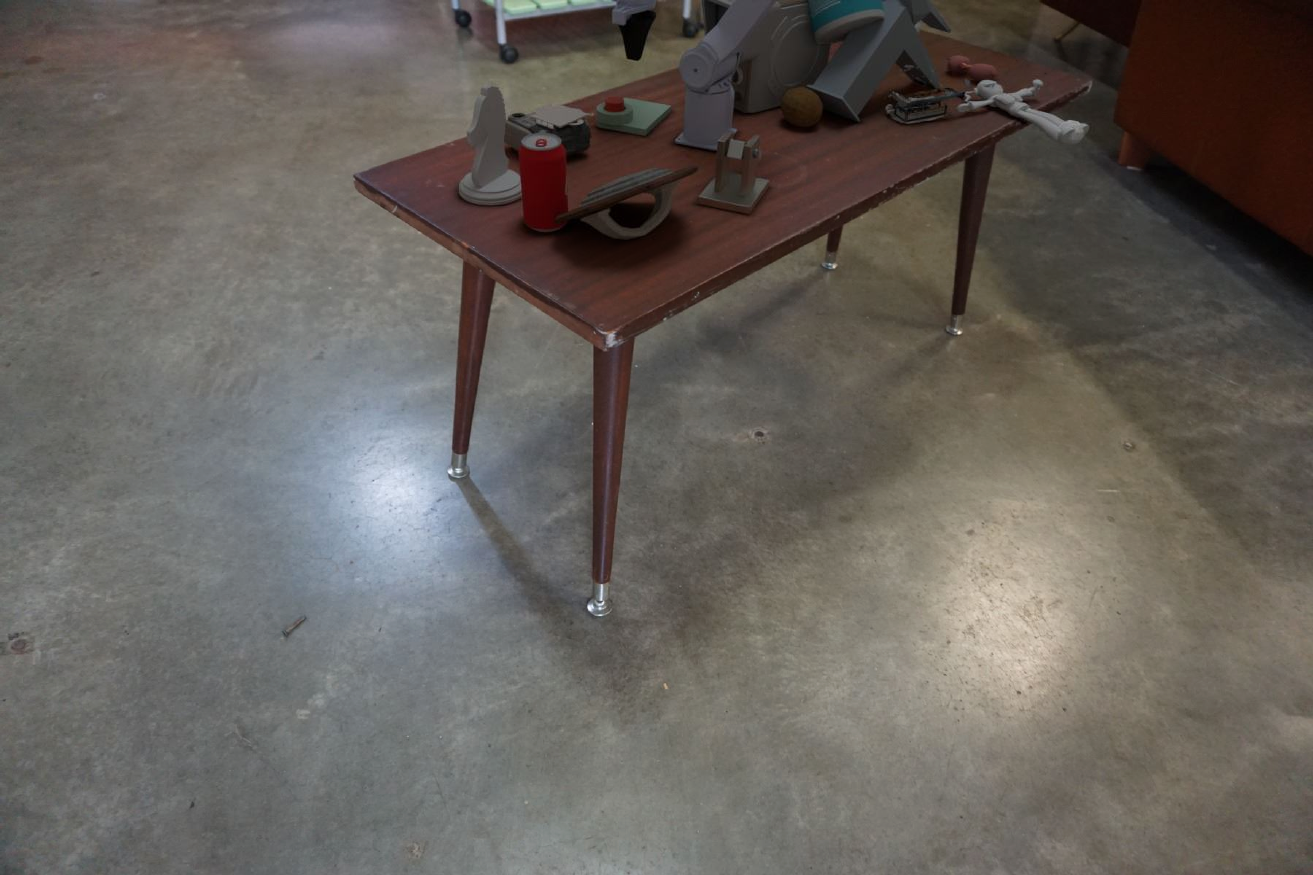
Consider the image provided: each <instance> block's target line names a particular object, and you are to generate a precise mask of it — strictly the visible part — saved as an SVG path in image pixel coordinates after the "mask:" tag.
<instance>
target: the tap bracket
mask: <svg viewBox="0 0 1313 875" xmlns="http://www.w3.org/2000/svg"><path fill="white" fill-rule="evenodd" d="M733 135H734V131H731V130H727V131H726V132H725V133H724V134H723V136H722V137H721V138H720V139H719V140H718V145H717V151H716V161H715V174H714V177H713V178H712V179H711V180H710V182H709V183H708V184H707V185H706V186H705V187H704V188H703V190H702V191H701V193H700V194H699V195H698V196H697V205H702V206H707V207H710V208H711V207H712V208H716V209H719V210H726V211H731V212H736V213H741V214H744V215H745V214H746V215H750V214H751V213H752V212H753V210H754V209H755V208H756V206H757V205H758V204H759V202H760V200H761V199H762V198H763V196H764V195H765V194H766V191H768V189H769V187H770V182H771V180H770V179H765V178H760V177H757V170H758V169H757V168H758V164H757V161H758V156H759V149H760V142H761V135H757V134H753V135H752V136H751V137H750V139H748V141H747V142H746V143H747V144H746V145H745V149H744V159H743V160H742V162H743V163H742V168H741V169H742V170H741V174H740V173H735V172H731V167H732V158H730V157H727V153H728V149H729V144H730V140H734V136H735V135H734V136H733Z"/></svg>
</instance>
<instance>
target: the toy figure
mask: <svg viewBox="0 0 1313 875" xmlns="http://www.w3.org/2000/svg"><path fill="white" fill-rule="evenodd" d="M997 82H998V81H995V80H984V81H981V82H980V81H979V83H978V84H977V85H976V87H973V90H971V91H966V93H965V96H964V98H965V100H964V102H966V103H961V104H958V105H957V106H956V107H955V109H956V111H957V112H958V113H964V112H968V111H969V112H973V111H976V110H978V109H981V108H983V107H985V106H989V107H991V108H999V109H1000V110H1003V111H1005V112H1007V113H1008V114H1009V115H1010V116H1011V117H1014V118H1020V119H1022V120H1025V121H1026V122H1029V123H1030V124H1032V125H1034V126H1035V127H1037V128H1038V129H1040V131H1042V132H1043V133H1044V134H1045V135H1046V136H1047V137H1048V138H1050V139H1051V140H1052V141H1053V142H1056V143H1059V144H1061V145H1067V144H1068V145H1076V144H1079V143H1080V142H1081V141H1082V140H1083V139H1084V138H1085V136H1086V134H1087V133H1088V132H1089V130H1090V125H1089V124H1087V123H1085V122H1079V121H1077V120H1073V119H1069V120H1063V119H1061V118H1060V117H1058V116H1056V115H1054V114H1052V113H1049V112H1045V111H1041V110H1037V109H1033V108H1031V106H1030V105H1028V104H1027V103H1025V102H1023V101H1024V99H1023V98H1029V97H1032V98H1033V97H1034V98H1035V97H1036V96H1037V94H1038V92H1039V91H1040V90H1041V88H1042V87H1043V86H1044V82H1043V81H1042V80H1041V79H1038V78H1036V79H1033V80H1032V83H1031V84H1032V85H1033V86H1030V87H1029V88H1026V87H1024V88H1022V89H1021V88H1020V90H1018V91H1016V92H1008V93H1006V92H1004V89H1003V87H1002V85H1001V84H999V83H997ZM970 94H975V97H979V98H980V99H982V100H979V101H973V100H971V98H972V97H971V96H970Z"/></svg>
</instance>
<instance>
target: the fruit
mask: <svg viewBox="0 0 1313 875" xmlns="http://www.w3.org/2000/svg"><path fill="white" fill-rule="evenodd" d="M780 111H781V113H782V115H783V117H784V119H785V120H786V121H787V122H788V123H789V124H791V125H794V126H797V127H799V128H807V127H808V128H809V127H812V126H814V125H815V124H817V123H818V122H819V120H820V119H821V117H822V114H823V111H824V108H823V104H822V102H821V100H820V98H819V96H818V95H817V94H816V93H814V92H813V91H811V90H809V89H807V88H804V87H797V88H792V89H790V90H789V91H787V92H786V93H785V95H784V96H783V98H782V101H781V106H780Z"/></svg>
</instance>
